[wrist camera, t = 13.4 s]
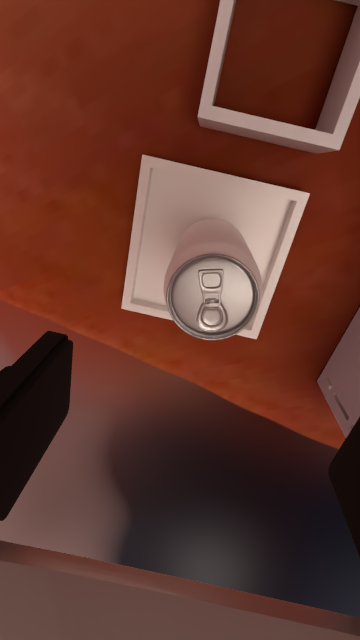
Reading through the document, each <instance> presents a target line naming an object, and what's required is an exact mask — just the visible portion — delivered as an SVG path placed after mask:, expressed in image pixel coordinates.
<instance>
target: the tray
mask: <svg viewBox="0 0 360 640" xmlns="http://www.w3.org/2000/svg"><path fill="white" fill-rule="evenodd" d="M309 195H310V193H306V192H302V191H297V190H293V189H289V188H284V187H280V186H276V185H272V184H267V183H263V182H259V181H254V180H250V179H246V178H241V177H237V176H233V175H229V174H224V173H220V172H216V171H211V170H207V169H203V168H198V167H194V166H190V165H186V164H181V163H177V162H173V161H168V160H164V159H160V158H155V157H151V156H147V155H143V154H142V160H141V167H140V175H139V182H138V189H137V197H136V204H135V212H134V219H133V226H132V234H131V241H130V248H129V256H128V263H127V270H126V278H125V285H124V292H123V300H122V307H121V309H125V310H130V311H134V312H139V313H143V314H147V315H152V316H156V317H161V318H165V319H169V320H173V319H172V317H171V315H170V313H169V311H168V307H167V305H166V302H165V298H164V291H163V286H164V278H165V274H166V271H167V268H168V266H169V264H170V261H171V259H172V257H173V254H174V252H175V250H176V248H177V245H178V243H179V241H180V239H181V237H182V236H183V234H184V233H185V231H186V230H187V229H188V228H189V227H191V226H192V225H193V224H195V223H197V222H199V221H202V220H205V219H220V220H224V221H226V222H228V223H230V224H232V225H233V226H234V227H236V228H237V229H238V231H239V232H240V233H241V235H242V236H243V238H244V240H245V242H246V244H247V246H248V248H249V249H250V251H251V253H252V255H253V258H254V260H255V262H256V264H257V266H258V269H259V271H260V274H261V279H262V296H261V300H260V303H259V306H258V309H257V312H256V314H255V316H254V318H253V319H252V321H251V322H250V323H249V325H248V326H247V327H246V328H245V329H243V330H242V331H241V332H239V333H238V334H236V335H240V336H244V337H249V338H253V339H257V337H258V334H259V331H260V328H261V326H262V323H263V320H264V318H265V315H266V312H267V309H268V307H269V304H270V301H271V298H272V296H273V293H274V290H275V288H276V285H277V282H278V279H279V277H280V274H281V271H282V268H283V266H284V263H285V260H286V258H287V255H288V252H289V249H290V247H291V244H292V241H293V238H294V236H295V233H296V230H297V227H298V225H299V222H300V219H301V217H302V214H303V211H304V208H305V206H306V203H307V200H308V197H309Z"/></svg>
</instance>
